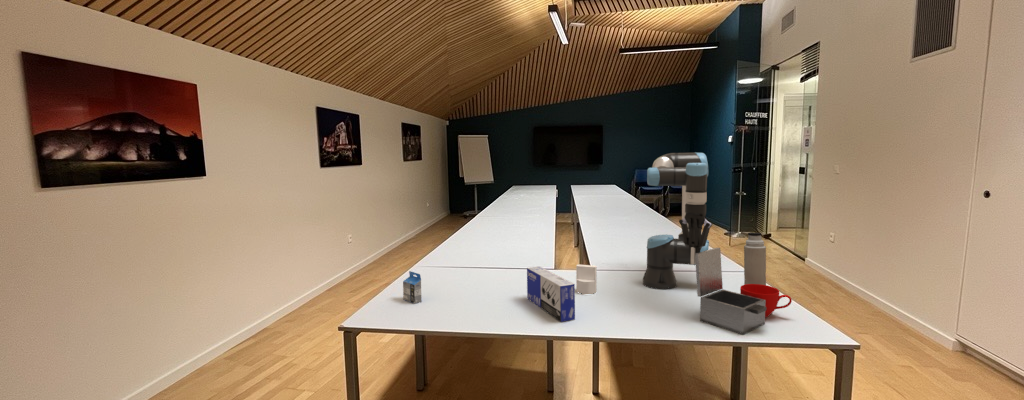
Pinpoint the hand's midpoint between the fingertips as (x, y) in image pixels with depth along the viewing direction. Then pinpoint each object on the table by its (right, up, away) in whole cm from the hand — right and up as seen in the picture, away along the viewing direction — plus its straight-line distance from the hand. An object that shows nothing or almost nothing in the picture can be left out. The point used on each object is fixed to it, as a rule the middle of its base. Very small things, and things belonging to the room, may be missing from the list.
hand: (694, 263), depth 173 cm
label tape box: (-114, -20, +22) cm, 118 cm away
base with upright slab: (-37, -17, +29) cm, 50 cm away
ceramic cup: (+25, -19, -4) cm, 32 cm away
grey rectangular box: (+10, -20, -11) cm, 25 cm away
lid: (+4, -2, -5) cm, 7 cm away
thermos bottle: (+31, -17, +14) cm, 38 cm away
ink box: (-56, -20, +8) cm, 60 cm away
